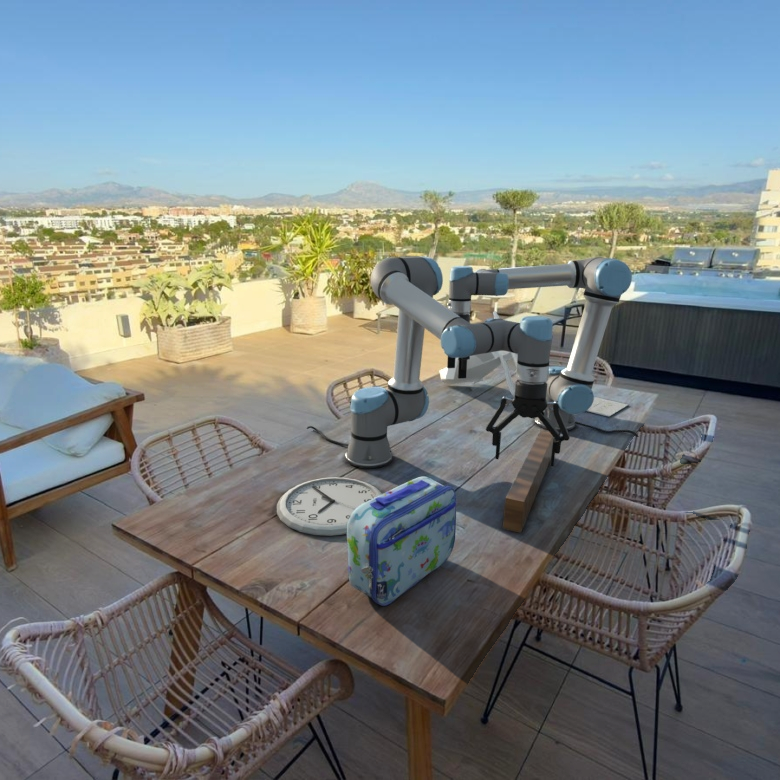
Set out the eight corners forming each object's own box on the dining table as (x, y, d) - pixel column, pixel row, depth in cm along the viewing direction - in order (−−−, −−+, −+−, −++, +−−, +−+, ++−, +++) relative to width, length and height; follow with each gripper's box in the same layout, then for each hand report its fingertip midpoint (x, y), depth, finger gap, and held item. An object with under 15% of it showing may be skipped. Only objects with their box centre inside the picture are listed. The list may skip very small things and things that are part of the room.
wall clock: (392, 527, 129) (268, 531, 127) (391, 533, 130) (269, 537, 127) (383, 473, 158) (282, 475, 155) (383, 478, 158) (282, 480, 156)
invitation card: (608, 416, 214) (573, 407, 224) (608, 416, 214) (573, 408, 224) (628, 404, 229) (594, 396, 238) (628, 405, 229) (594, 397, 238)
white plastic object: (461, 429, 252) (437, 405, 227) (444, 352, 274) (420, 323, 250) (535, 404, 240) (518, 377, 215) (510, 326, 262) (492, 293, 237)
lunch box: (376, 619, 101) (377, 524, 95) (340, 592, 109) (339, 502, 102) (459, 562, 119) (465, 479, 113) (424, 542, 126) (427, 463, 120)
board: (537, 454, 178) (540, 430, 175) (551, 456, 176) (554, 432, 173) (502, 528, 133) (505, 497, 131) (520, 533, 131) (524, 501, 129)
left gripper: (478, 380, 128) (473, 460, 134) (586, 389, 121) (576, 473, 127) (482, 372, 134) (477, 449, 141) (585, 381, 127) (575, 461, 134)
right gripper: (439, 307, 189) (437, 364, 196) (459, 319, 166) (456, 383, 172) (459, 307, 191) (456, 363, 197) (481, 318, 167) (477, 382, 173)
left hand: (524, 460), depth 134 cm, fingers open, 13 cm apart
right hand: (456, 372), depth 185 cm, fingers open, 13 cm apart
